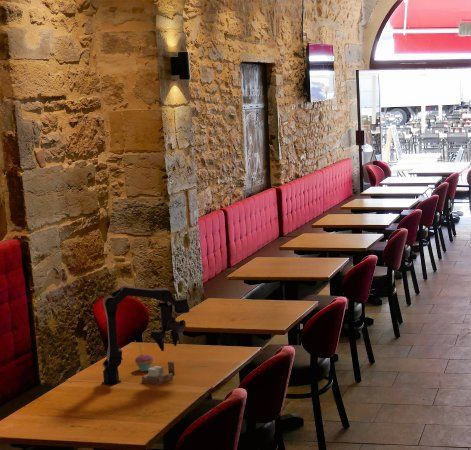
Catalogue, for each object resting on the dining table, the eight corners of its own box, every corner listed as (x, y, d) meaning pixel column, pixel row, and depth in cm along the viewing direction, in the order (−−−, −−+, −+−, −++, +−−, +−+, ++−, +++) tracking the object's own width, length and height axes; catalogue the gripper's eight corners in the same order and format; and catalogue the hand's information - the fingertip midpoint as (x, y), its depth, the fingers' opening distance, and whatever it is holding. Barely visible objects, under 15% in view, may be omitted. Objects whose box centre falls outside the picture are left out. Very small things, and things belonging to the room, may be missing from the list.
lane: (157, 385, 386) (157, 379, 386) (142, 382, 392) (141, 376, 391) (172, 378, 394) (172, 373, 394) (157, 375, 400) (157, 370, 399)
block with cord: (157, 383, 389) (156, 370, 388) (149, 381, 392) (148, 368, 391) (177, 374, 400) (176, 361, 399) (169, 373, 403) (168, 360, 402)
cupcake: (132, 371, 409) (130, 346, 407) (142, 366, 416) (140, 341, 415) (147, 373, 405) (145, 348, 403) (157, 367, 412) (155, 343, 411)
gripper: (167, 321, 385) (169, 355, 387) (192, 312, 400) (195, 345, 403) (148, 319, 392) (150, 353, 394) (174, 310, 407) (176, 342, 409)
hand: (169, 348), depth 400 cm, fingers open, 9 cm apart
